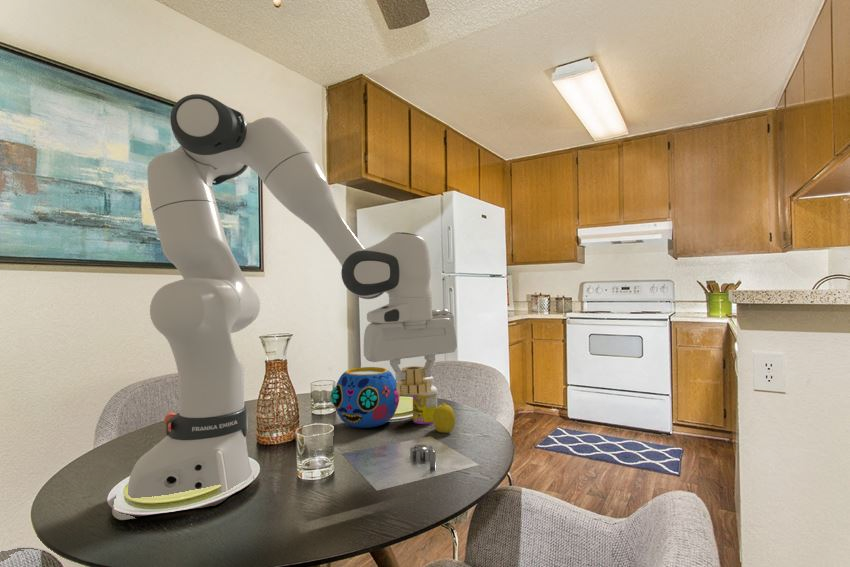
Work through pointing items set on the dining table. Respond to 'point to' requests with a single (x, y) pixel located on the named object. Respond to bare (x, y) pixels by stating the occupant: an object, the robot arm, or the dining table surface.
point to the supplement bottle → (425, 405)
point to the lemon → (444, 418)
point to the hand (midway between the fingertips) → (413, 379)
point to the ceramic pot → (366, 397)
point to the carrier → (406, 462)
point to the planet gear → (414, 382)
